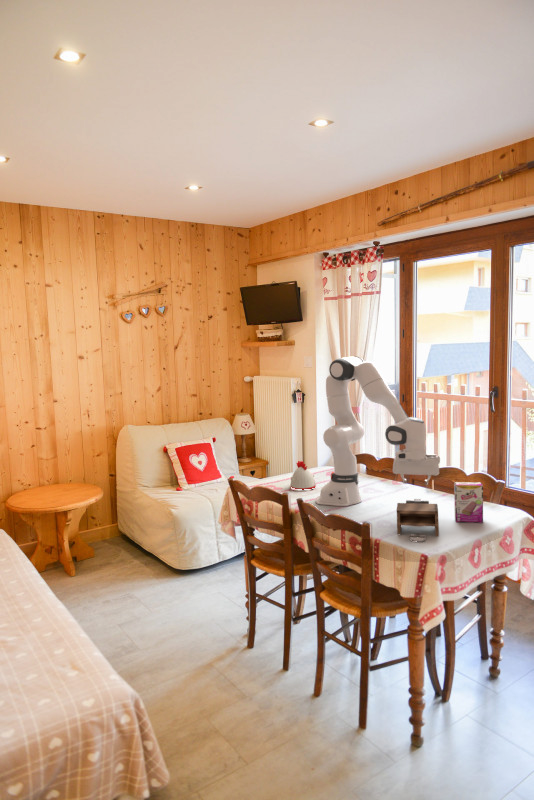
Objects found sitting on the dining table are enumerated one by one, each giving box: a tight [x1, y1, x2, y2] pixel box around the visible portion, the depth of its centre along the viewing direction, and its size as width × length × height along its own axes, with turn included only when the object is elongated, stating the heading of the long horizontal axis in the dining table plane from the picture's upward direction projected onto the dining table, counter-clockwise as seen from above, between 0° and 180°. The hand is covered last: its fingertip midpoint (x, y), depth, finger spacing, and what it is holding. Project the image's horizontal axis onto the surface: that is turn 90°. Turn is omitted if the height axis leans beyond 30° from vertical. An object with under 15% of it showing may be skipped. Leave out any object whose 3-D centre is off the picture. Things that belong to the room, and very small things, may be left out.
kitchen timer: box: [289, 460, 317, 490], centre depth 299 cm, size 14×14×15 cm
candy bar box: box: [453, 481, 484, 524], centre depth 231 cm, size 11×5×16 cm, turn 77°
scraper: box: [405, 498, 430, 504], centre depth 239 cm, size 10×20×6 cm, turn 164°
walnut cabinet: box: [396, 502, 440, 537], centre depth 222 cm, size 16×10×10 cm, turn 75°
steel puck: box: [409, 533, 427, 543], centre depth 214 cm, size 6×6×2 cm
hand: (415, 483), depth 245 cm, fingers open, 8 cm apart
